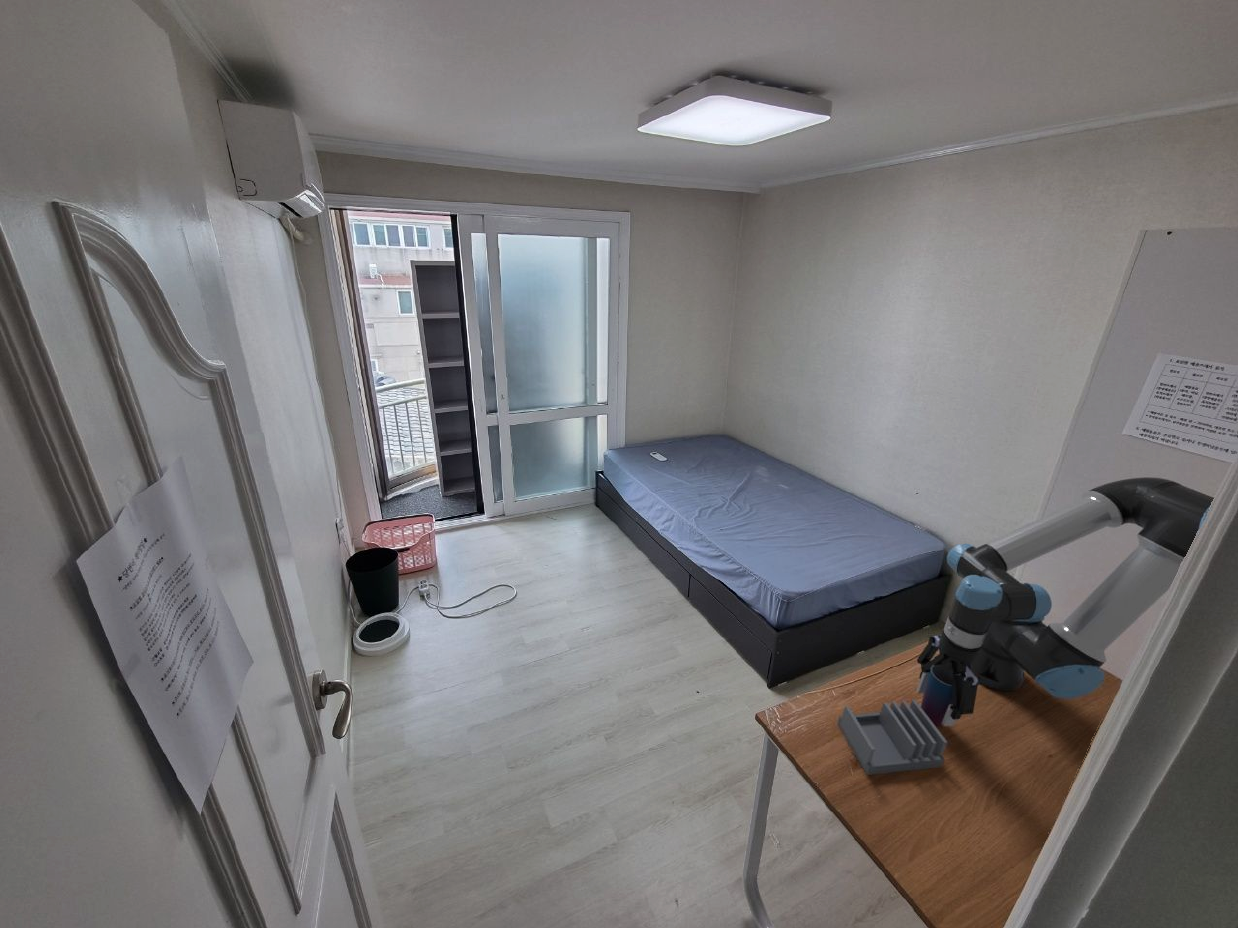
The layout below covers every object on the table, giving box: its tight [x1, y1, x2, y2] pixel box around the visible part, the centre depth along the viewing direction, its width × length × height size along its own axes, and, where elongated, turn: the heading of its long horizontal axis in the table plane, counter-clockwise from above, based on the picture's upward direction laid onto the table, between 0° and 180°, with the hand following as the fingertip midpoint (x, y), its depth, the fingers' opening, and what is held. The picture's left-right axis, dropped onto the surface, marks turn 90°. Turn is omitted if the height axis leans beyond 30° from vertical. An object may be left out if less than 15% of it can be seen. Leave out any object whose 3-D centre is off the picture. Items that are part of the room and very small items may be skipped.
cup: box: [920, 664, 960, 728], centre depth 121 cm, size 7×7×15 cm
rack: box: [837, 699, 948, 776], centre depth 116 cm, size 18×13×7 cm
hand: (934, 707), depth 123 cm, fingers open, 9 cm apart
